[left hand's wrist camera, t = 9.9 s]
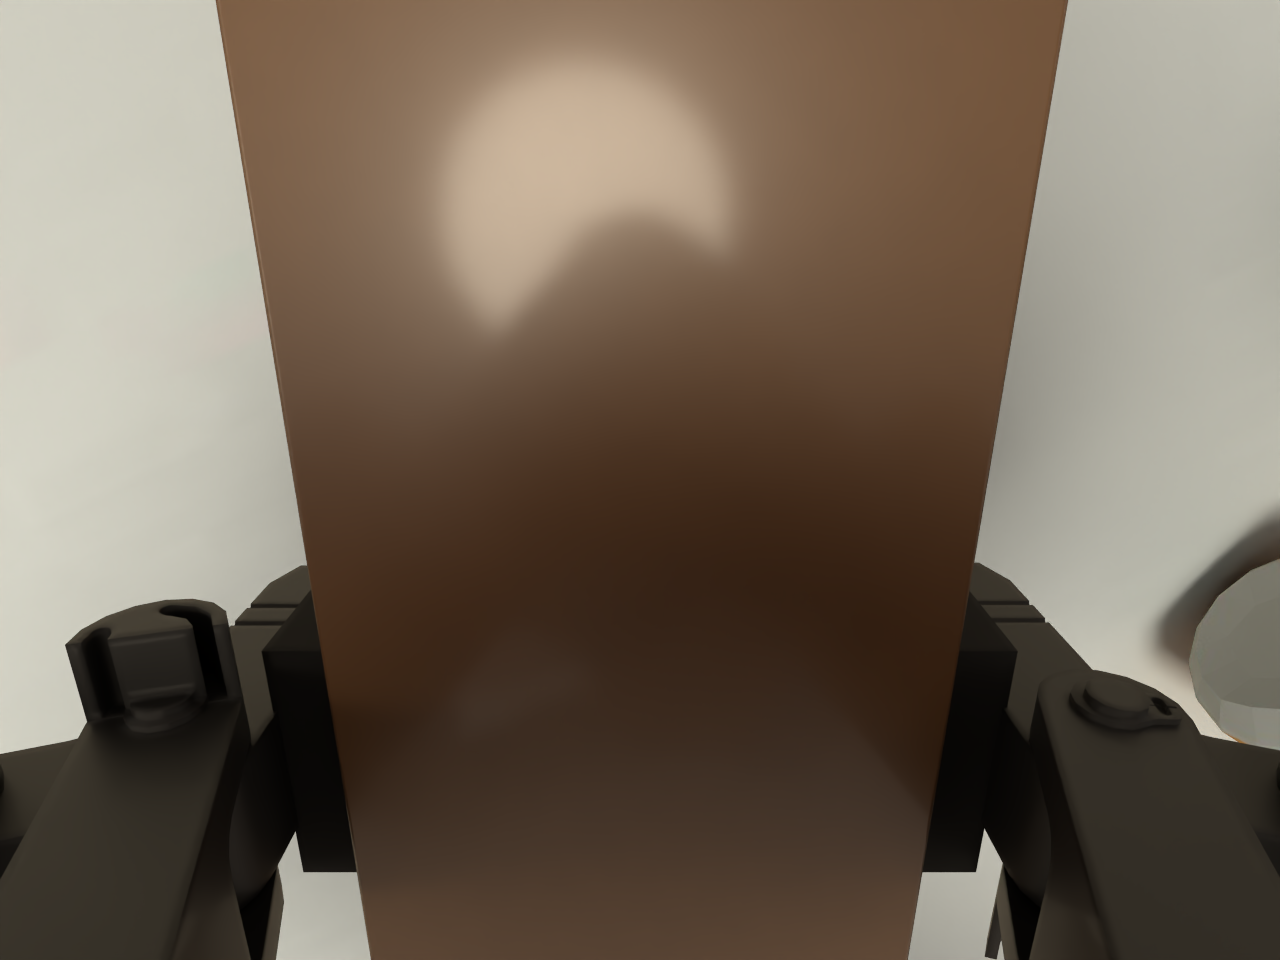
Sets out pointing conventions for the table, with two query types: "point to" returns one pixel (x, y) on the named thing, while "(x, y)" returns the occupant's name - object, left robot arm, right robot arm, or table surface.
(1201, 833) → the left robot arm
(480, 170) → the post
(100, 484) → the table surface
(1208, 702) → the spray gun
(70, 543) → the table surface
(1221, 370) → the table surface
